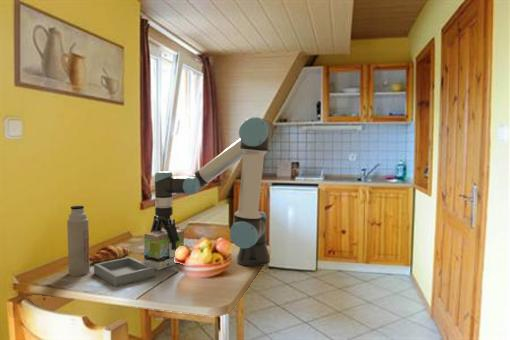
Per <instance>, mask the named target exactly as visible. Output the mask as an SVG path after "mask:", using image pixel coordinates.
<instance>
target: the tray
mask: <svg viewBox="0 0 510 340" xmlns="http://www.w3.org/2000/svg"><path fill="white" fill-rule="evenodd" d="M155 271H156V269H155V268H154V267H152V266H150V265H148V264H146V263H144V261H140V259H139V260H138V259H137V258H134V257H131V256H129V257H128V256H126V257H121V258H120V259H117V260H112V261H107V262H102V263H98V262H97V263H94V264H93V274H94V275H95V274H96V275H95V276H98V277H99V278H100V277H101V278H100V279H102V278H103V279H102V280H103V281H105V280H106V282H107V281H108V282H107V283H109V284H110V283H111V285H112V286H113V287H115V286H116V288H118V287H117V286H119V287H122V286H121V285H123V286H127V285H130V284H134V283H137V282H141V281H146V280H148V279H153V278H155V277H156V276H155V274H156V273H155ZM126 284H127V285H126Z"/></svg>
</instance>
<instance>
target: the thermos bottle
mask: <svg viewBox="0 0 510 340" xmlns="http://www.w3.org/2000/svg"><path fill="white" fill-rule="evenodd" d="M84 207H85V206H84V205H72V206H70V209H71V210H70V211H71V212H70V214H69V215H68V220H67V221H66V224H67V225H66V226H67V229H66V230H67V252H68V253H67V255H68V257H67V258H68V259H67V260H68V262H67V263H68V264H67V265H68V275H69V276H72V277H76V276H77V277H80V276H84V275H87V274H89V273H90V270H91V269H90V265H91V264H90V260H89V258H90V231H89V230H90V229H89V227H90V226H89V219H88V218H87V213H86V212H85V208H84Z"/></svg>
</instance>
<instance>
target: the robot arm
mask: <svg viewBox="0 0 510 340" xmlns="http://www.w3.org/2000/svg"><path fill="white" fill-rule="evenodd" d="M238 136H239V139H238V140H236V141H235V142H234V143H232V144H231V145H230V146H228V147H227V148H226V149H224V150H223V151H222V152H221V153H220V154H218V155H217V156H215V157H214V158H213V159H211V160H210V161H208V162H207V163H206V164H205V165H203V166H202V167H201V168H199V169H198V170H197V171H195V172H194V173H193V174H191V175H187V176H174V175H173V173H172V171H156V172H155V174H154V195H155V196H154V197H155V198H154V199H155V200H154V202H155V203H154V205H155V208H154V210H155V212H154V214H155V215H153V221H152V225H151V229H150V232H149V233H151V232H155V231H160V230H164V229H165V230H166V232H167V234H168V237H169V239H170V242H169V257H170V258H171V257H175V251H176V242H177V241H179V237H178V233H177V230H178V229H177V226H176V221H175V218H171V216H173V213H174V212H173V203H174V202H173V194H175V195H176V194H179V195H181V194H183V195H196V194H197V193H198V192H199V191H200V190H203V189H204V188H205V187H206V186H207V185H208V184H209V183H210V182H212V181H213V180H214V179H216V178H217V177H218V176H220V175H221V174H223V173H224V172H225V171H226V170H228V169H230V168H231V167H232V166H233V165H234V164H236V163H238V161H240V160H241V159H242V163H241V164H242V166H241V175H240V184H239V185H240V187H239V195H238V196H239V199H238V207H237V208H238V209H237V210H236V211H235V212H234V214H233V220H232V221H233V223H232V225H231V227H230V230H229V238H230V241H231V242H232V244H233V245H234V246H236V247H238V248H239V249H238V254H237V256H236V262H237V264H239V265H243V266H249V267H258V266H265V265H268V264H270V262H271V256H270V254H269V250H268V249H269V248H268V246H267V213H266V212H265V211H259V209H260V200H261V199H260V198H261V188H262V178H263V168H264V158H265V155H266V154H267V153H268V152H269V145H270V142H272V140H273V136H274V128H273V125H272V124H271V123H270V122H269V120H266V119H265V118H264V119H263V118H261V117H258V116H255V117H253V116H252V117H249V118H247V119H245V120H244V121H242V123H241V124H240V126H239V129H238Z"/></svg>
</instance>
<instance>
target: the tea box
mask: <svg viewBox="0 0 510 340" xmlns="http://www.w3.org/2000/svg"><path fill="white" fill-rule="evenodd" d="M176 230H177V233H178V237H179V241H177V242H176V249H177V248H178V247H179V246H184V244H185V243H184V242H185V231H184V230H180V229H176ZM150 232H151V231H150ZM150 232H147V233H144V241H143V242H144V244H143V248H144V250H143V251H144V252H143V256H144V261H143V263H146V264H148V265H150V266H152V267H154V268H155V270H157V271H160V270H163V269H165V268H168V267H169V268H170V267H171V266H175V265H176V264H175V262H174V257H171V258H170V257H169V242H170V239H169V237H168V234H167V232H166V230H165V229H164V228H163V229H161V230H160V231H155V232H154V231H153V232H151V233H150Z"/></svg>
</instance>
